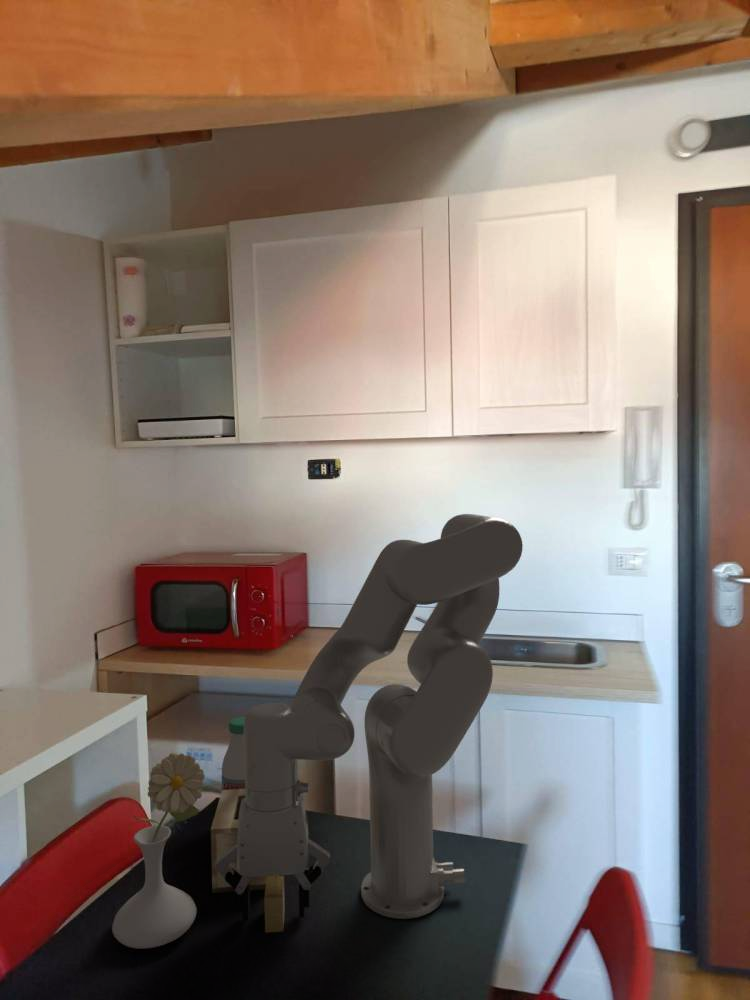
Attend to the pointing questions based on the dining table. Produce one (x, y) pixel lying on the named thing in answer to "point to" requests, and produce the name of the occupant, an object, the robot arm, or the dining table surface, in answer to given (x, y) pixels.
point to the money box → (228, 839)
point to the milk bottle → (234, 757)
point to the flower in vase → (158, 905)
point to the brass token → (274, 904)
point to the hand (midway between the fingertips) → (274, 912)
